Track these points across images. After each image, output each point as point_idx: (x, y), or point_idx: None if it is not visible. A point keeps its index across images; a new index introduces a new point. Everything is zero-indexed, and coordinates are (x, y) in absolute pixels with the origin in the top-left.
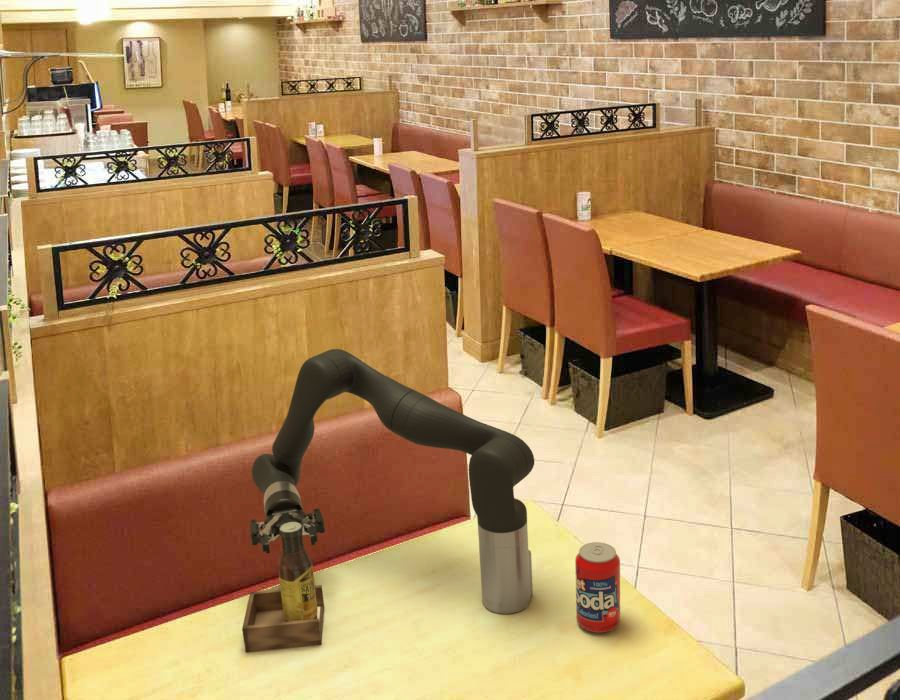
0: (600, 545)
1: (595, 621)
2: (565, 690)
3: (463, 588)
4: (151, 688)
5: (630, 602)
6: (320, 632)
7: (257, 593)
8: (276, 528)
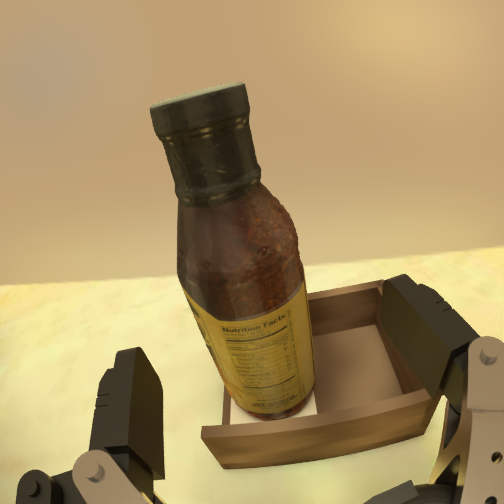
0: None
1: None
2: (20, 286)
3: None
4: (473, 254)
5: None
6: None
7: (415, 393)
8: (432, 484)
